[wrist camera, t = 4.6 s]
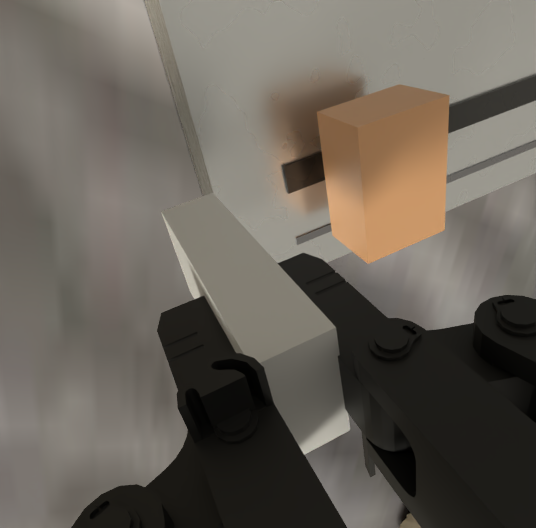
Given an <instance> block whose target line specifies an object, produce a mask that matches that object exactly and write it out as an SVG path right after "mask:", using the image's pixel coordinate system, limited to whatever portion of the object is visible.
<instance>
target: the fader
mask: <svg viewBox="0 0 536 528" xmlns="http://www.w3.org/2000/svg"><path fill="white" fill-rule="evenodd" d="M449 96H450V95H447V94H442V93H438V92H433V91H429V90H424V89H419V88H415V87H410V86H405V85H401V84H398V85H395V86H392V87H389V88H386V89H383V90H380V91H377V92H374V93H371V94H368V95H365V96H362V97H359V98H356V99H353V100H351V101H348V102H345V103H342V104H339V105H336V106H333V107H330V108H327V109H324V110H321V111H318V112H317V119H318V127H319V135H320V142H321V150H322V158H323V166H324V174H325V182H326V189H327V197H328V205H329V213H330V221H331V229H332V236H334V237H335V238H336V239H337V240H339V241H340V242H341V243H342V244H344V245H345V246H346V247H348V248H349V249H350V250H351V251H353V252H354V253H355V254H356V255H358V256H359V257H360V258H361V259H363V260H364V261H365V262H367V263H368V264H369V263H371V262H373V261H376V260H378V259H380V258H382V257H385V256H387V255H389V254H392V253H394V252H396V251H398V250H401V249H403V248H405V247H407V246H410V245H412V244H414V243H416V242H419V241H421V240H423V239H426V238H428V237H430V236H432V235H435V234H437V233H439V232H441V231H444V230H445V203H446V177H447V150H448V123H449Z"/></svg>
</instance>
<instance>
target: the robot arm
mask: <svg viewBox="0 0 536 528" xmlns="http://www.w3.org/2000/svg"><path fill="white" fill-rule="evenodd" d="M161 213H162V215H163V218H164V221H165V224H166V226H167V229H168V232H169V235H170V237H171V240H172V243H173V246H174V248H175V251H176V254H177V257H178V259H179V262H180V265H181V268H182V270H183V273H184V276H185V279H186V281H187V284H188V287H189V290H190V292H191V294H192V295H193V297H194V300H192V301H189V302H187V303H185V304H182V305H180V306H177V307H175V308H172V309H170V310H168V311H165V312H163V313H161V317H160V321H159V325H158V329H157V332H158V335H159V337H160V340H161V343H162V346H163V348H164V352H165V354H166V357H167V360H168V362H169V366H170V368H171V371H172V374H173V377H174V380H175V383H176V385H177V388H178V393H177V402H178V409H179V412H180V414H181V416H182V418H183V420H184V422H185V424H186V426H187V429H188V433H187V437H186V440H185V443H184V445H183V448H182V449H181V451H180V452H179V454H178V455H177V457H176V459H175V460H174V461H173V462H172V463H171V464H170V465H169V466H168V467H167V468H166V469H165V470H164V471H163V472H162V473H161V474H160V475H158V476H157V477H156V478H155V479H154V480H153V481H152V482H151V483H149V484H148V485H147V486H146V487H142V486H139V485H126V486H119V487H116V488H114V489H112V490H110V491H108V492H106V493H103V494H101V495H100V496H99V497H98V498H97V499H95V500H94V501H93V502H92V503H91V504H90V505H88V506H87V507H86V508H85V509H84V510H83V512H82V513H81V515H80V516H79V517H78V519H77V520H76V522H75V523H74V525H73V526H72V527H71V528H347V527H346V525H345V523H344V522H343V520H342V518H341V516H340V515H339V513H338V511H337V510H336V508H335V506H334V505H333V503H332V501H331V499H330V498H329V496H328V494H327V493H326V491H325V489H324V488H323V486H322V484H321V482H320V481H319V479H318V477H317V476H316V474H315V472H314V471H313V469H312V467H311V465H310V464H309V462H308V460H307V459H306V457H305V454H307V453H308V452H310V451H312V450H314V449H316V448H318V447H320V446H321V445H323V444H325V443H327V442H329V441H331V440H333V439H335V438H336V437H338V436H340V435H342V434H344V433H346V432H348V431H349V430H350V425H349V417H348V413H349V415H350V416H351V417H352V419H353V420H354V421H355V423H356V424H357V425H358V427H359V428H360V429H361V431H362V439H363V448H364V457H365V465H366V468H367V470H368V473H369V475H370V477H372V476H373V475H375V464H376V466H377V467H378V469H379V470H380V471H381V473H382V474H383V476H384V477H385V478H386V480H387V481H388V482H389V484H390V485H391V487H392V488H393V489H394V491H395V492H396V493H397V495H398V496H399V498H400V499H401V500H402V502H403V503H404V505H405V506H406V507H407V509H408V510H409V511H410V513H411V514H412V516H413V517H414V518H415V520H416V521H417V522H418V524H419V525H420V527H421V528H536V299H532V298H529V297H525V296H515V295H504V296H498V297H493V298H490V299H488V300H487V301H485V302H483V303H481V304H480V305H479V307H478V308H477V310H476V311H475V316H474V323H472V324H466V325H461V326H455V327H450V328H445V329H438V330H425V329H424V328H422V327H420V326H419V325H417V324H415V323H413V322H411V321H407V320H403V319H399V318H387V317H386V316H385V315H384V314H382V313H381V312H380V311H379V310H378V309H377V308H376V307H375V306H374V305H372V304H371V303H370V302H369V301H368V300H367V299H366V298H365V297H364V296H362V295H361V294H360V293H359V292H358V291H357V290H356V289H355V288H354V287H352V286H351V285H350V284H349V283H348V282H347V283H346V281H345V279H344V278H342V277H341V276H340V275H339V274H338V273H335V270H334V269H333V268H331V267H330V266H329V265H328V264H327V263H326V262H325V261H324V260H323V259H320V258H318V257H315V256H312V255H309V254H306V253H301V254H299V255H296V256H294V257H292V258H289V259H287V260H284V261H282V262H280V263H277V262H276V261H275V260H274V259H273V258H272V257H271V256H270V255H269V254H268V253H267V252H266V250H265V249H264V248H263V247H262V246H261V245H260V244H259V243H258V242H257V241H256V240H255V238H254V237H253V236H252V235H251V234H250V233H249V232H248V231H247V230H246V229H245V228H244V226H243V225H242V224H241V223H240V222H239V221H238V220H237V219H236V218H235V217H234V216H233V214H232V213H231V212H230V211H229V210H228V209H227V208H226V207H225V206H224V205H223V204H222V202H221V201H220V200H219V199H218V198H217V197H216V196H215V195H214V194H213V193H211V194H208V195H205V196H202V197H200V198H197V199H194V200H191V201H188V202H186V203H183V204H180V205H177V206H174V207H172V208H169V209H166V210H163V211H161ZM374 463H375V464H374Z"/></svg>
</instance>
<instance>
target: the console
mask: <svg viewBox="0 0 536 528" xmlns="http://www.w3.org/2000/svg"><path fill="white" fill-rule="evenodd" d="M144 1H145V4H146V8H147V11H148V14H149V18H150V21H151V24H152V28H153V31H154V34H155V38H156V41H157V44H158V48H159V51H160V54H161V58H162V61H163V64H164V68H165V71H166V74H167V78H168V81H169V84H170V88H171V91H172V94H173V98H174V101H175V104H176V108H177V111H178V114H179V118H180V121H181V124H182V128H183V131H184V134H185V138H186V141H187V144H188V148H189V151H190V154H191V158H192V161H193V164H194V168H195V171H196V174H197V178H198V181H199V184H200V187H201V191H202V194H203V196H205V195H208V194H211V193H213V194H214V195H215V196H216V197H217V198H218V199H219V200H220V201H221V202H222V204H223V205H224V206H225V207H226V208H227V209H228V210H229V211H230V212H231V213H232V214H233V216H234V217H235V218H236V219H237V220H238V221H239V222H240V223H241V224H242V225H243V226H244V228H245V229H246V230H247V231H248V232H249V233H250V234H251V235H252V236H253V237H254V238H255V240H256V241H257V242H258V243H259V244H260V245H261V246H262V247H263V248H264V249H265V250H266V252H267V253H268V254H269V255H270V256H271V257H272V258H273V259H274V260H275V261H276V262H277V263H280V262H282V261H284V260H287V259H289V258H292V257H294V256H296V255H299V254H301V253H306V254H309V255H312V256H315V257H318V258H320V259H323V260H324V261H325V262H326V263H327V262H330V261H332V260H334V259H337V258H339V257H341V256H344V255H346V254H348V253H351V252H353V251H351V250H350V249H349V248H348V247H346V246H345V245H344V244H342V243H341V242H340V241H339V240H337V239H336V238H335V237H334V236H332V229H331V221H330V213H329V205H328V197H327V189H326V182H325V174H324V166H323V158H322V150H321V142H320V135H319V127H318V119H317V112H318V111H321V110H324V109H327V108H330V107H333V106H336V105H339V104H342V103H345V102H348V101H351V100H353V99H356V98H359V97H362V96H365V95H368V94H371V93H374V92H377V91H380V90H383V89H386V88H389V87H392V86H395V85H398V84H401V85H405V86H410V87H415V88H419V89H424V90H429V91H433V92H438V93H442V94H447V95H450V96H449V123H448V150H447V177H446V203H445V212H446V211H448V210H451V209H453V208H455V207H458V206H460V205H462V204H465V203H467V202H469V201H472V200H474V199H476V198H479V197H481V196H483V195H486V194H488V193H490V192H493V191H495V190H497V189H500V188H502V187H504V186H507V185H509V184H511V183H514V182H516V181H518V180H521V179H523V178H525V177H528V176H530V175H532V174H535V173H536V0H144Z"/></svg>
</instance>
